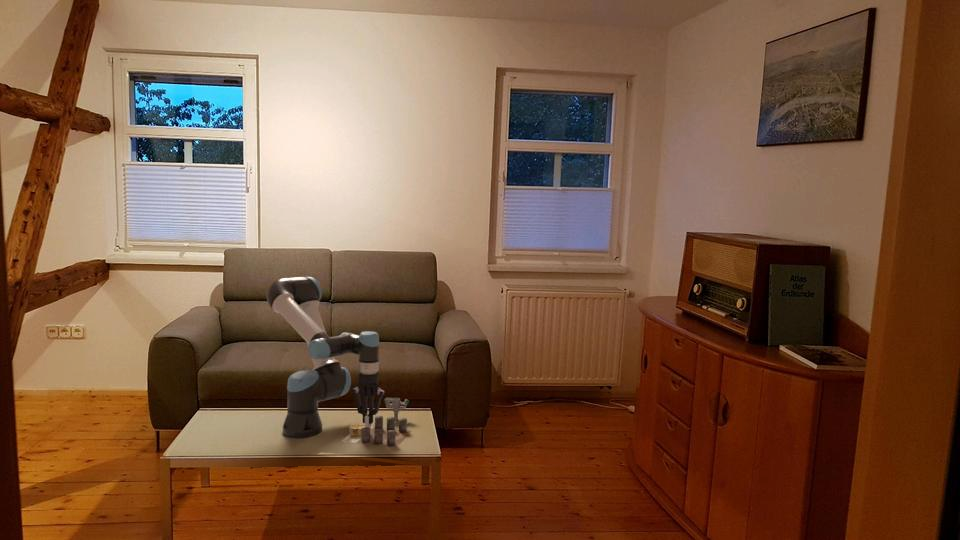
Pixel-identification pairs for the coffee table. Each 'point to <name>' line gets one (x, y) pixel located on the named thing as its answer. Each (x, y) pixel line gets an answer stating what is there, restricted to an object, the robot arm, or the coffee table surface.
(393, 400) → the mechanical component
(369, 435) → the board
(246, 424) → the coffee table surface
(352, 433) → the star-shaped block
